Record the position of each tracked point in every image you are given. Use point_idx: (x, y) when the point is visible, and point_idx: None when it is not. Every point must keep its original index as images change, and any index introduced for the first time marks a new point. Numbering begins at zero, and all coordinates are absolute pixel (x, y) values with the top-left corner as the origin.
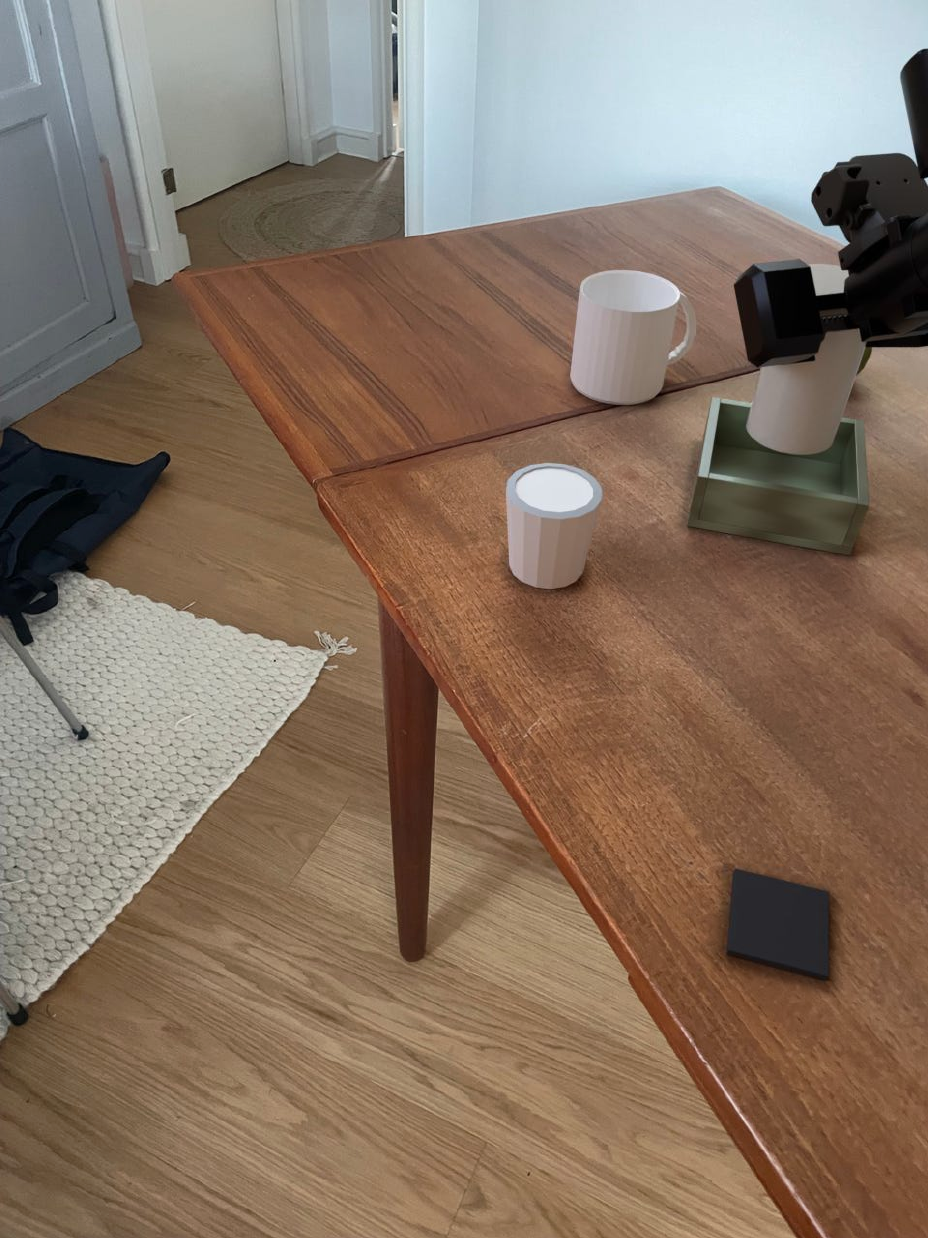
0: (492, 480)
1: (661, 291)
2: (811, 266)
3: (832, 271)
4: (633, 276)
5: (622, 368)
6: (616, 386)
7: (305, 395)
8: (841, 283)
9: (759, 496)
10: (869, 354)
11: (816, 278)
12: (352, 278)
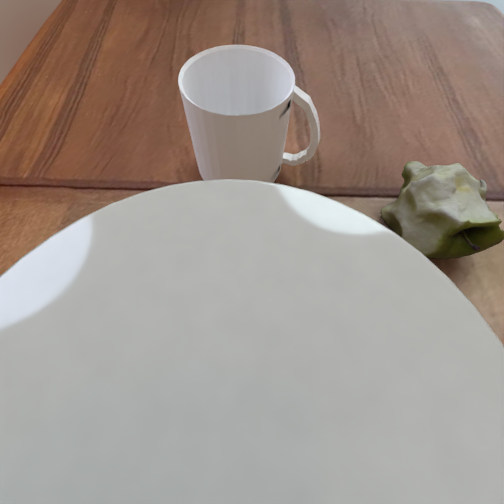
0: (36, 237)
1: (288, 88)
2: (275, 205)
3: (338, 293)
4: (270, 60)
5: (210, 164)
6: (210, 177)
7: (21, 99)
8: (261, 494)
9: None
10: (495, 244)
11: (176, 330)
12: (161, 13)
